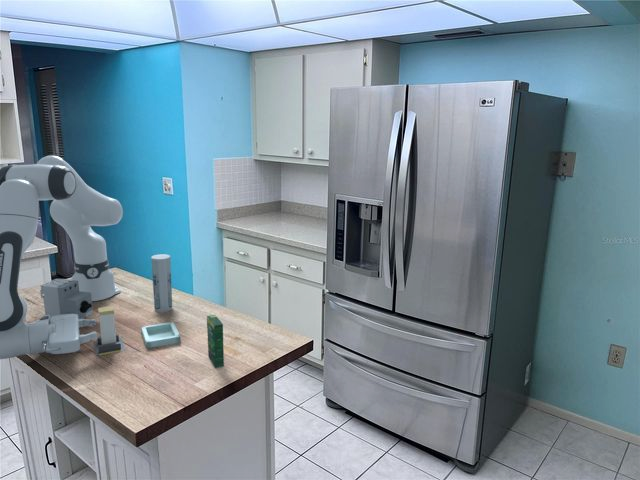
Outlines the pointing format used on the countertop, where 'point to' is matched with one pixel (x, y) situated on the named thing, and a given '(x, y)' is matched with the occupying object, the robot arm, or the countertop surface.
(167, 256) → the spray can
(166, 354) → the countertop surface
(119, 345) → the rails
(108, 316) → the fuse
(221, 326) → the coffee box
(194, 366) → the countertop surface
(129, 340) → the countertop surface
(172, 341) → the tray
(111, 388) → the countertop surface
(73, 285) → the circuit breaker
